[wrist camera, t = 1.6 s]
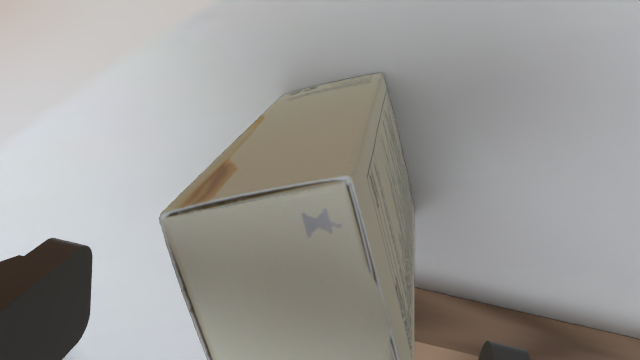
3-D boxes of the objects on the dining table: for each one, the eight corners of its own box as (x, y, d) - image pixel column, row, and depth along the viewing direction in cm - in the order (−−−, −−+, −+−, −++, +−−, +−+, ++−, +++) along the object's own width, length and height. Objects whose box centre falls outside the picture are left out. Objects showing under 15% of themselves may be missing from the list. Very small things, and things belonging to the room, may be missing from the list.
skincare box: (278, 93, 23) (143, 198, 12) (385, 69, 22) (349, 157, 11) (318, 239, 25) (232, 453, 14) (419, 222, 24) (418, 437, 13)
